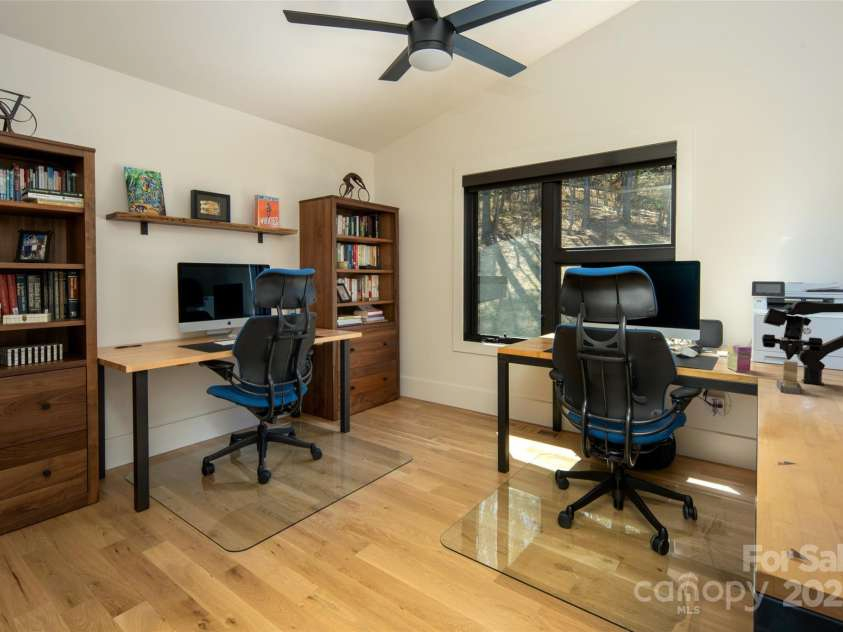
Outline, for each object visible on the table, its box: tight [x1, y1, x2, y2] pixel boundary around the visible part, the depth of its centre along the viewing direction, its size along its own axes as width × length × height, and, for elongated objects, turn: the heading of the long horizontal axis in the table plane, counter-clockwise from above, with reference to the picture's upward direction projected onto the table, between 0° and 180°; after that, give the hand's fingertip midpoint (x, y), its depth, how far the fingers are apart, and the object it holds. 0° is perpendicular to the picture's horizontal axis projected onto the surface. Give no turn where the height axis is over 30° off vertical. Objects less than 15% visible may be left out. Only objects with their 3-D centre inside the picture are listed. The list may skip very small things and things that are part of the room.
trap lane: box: [776, 378, 803, 395], centre depth 177 cm, size 12×6×3 cm, turn 149°
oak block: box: [781, 360, 799, 387], centre depth 176 cm, size 4×4×9 cm
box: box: [726, 343, 752, 373], centre depth 216 cm, size 10×6×12 cm, turn 168°
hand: (788, 359), depth 182 cm, fingers closed
